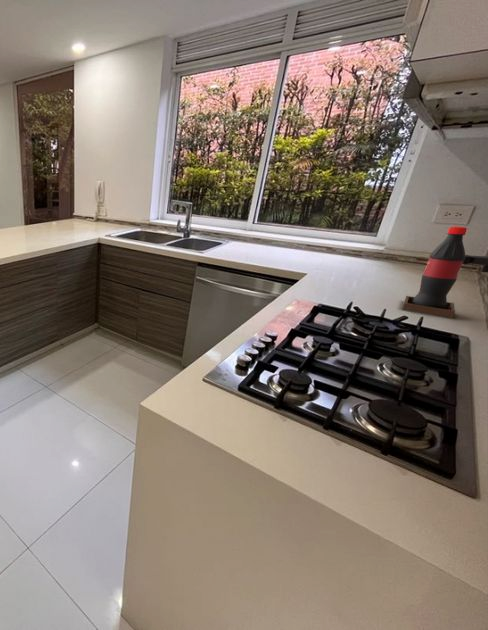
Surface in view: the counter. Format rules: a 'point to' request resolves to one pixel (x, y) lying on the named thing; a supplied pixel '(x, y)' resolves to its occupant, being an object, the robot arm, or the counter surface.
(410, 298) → the bottle tray
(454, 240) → the cola bottle
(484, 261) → the robot arm
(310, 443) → the counter surface
